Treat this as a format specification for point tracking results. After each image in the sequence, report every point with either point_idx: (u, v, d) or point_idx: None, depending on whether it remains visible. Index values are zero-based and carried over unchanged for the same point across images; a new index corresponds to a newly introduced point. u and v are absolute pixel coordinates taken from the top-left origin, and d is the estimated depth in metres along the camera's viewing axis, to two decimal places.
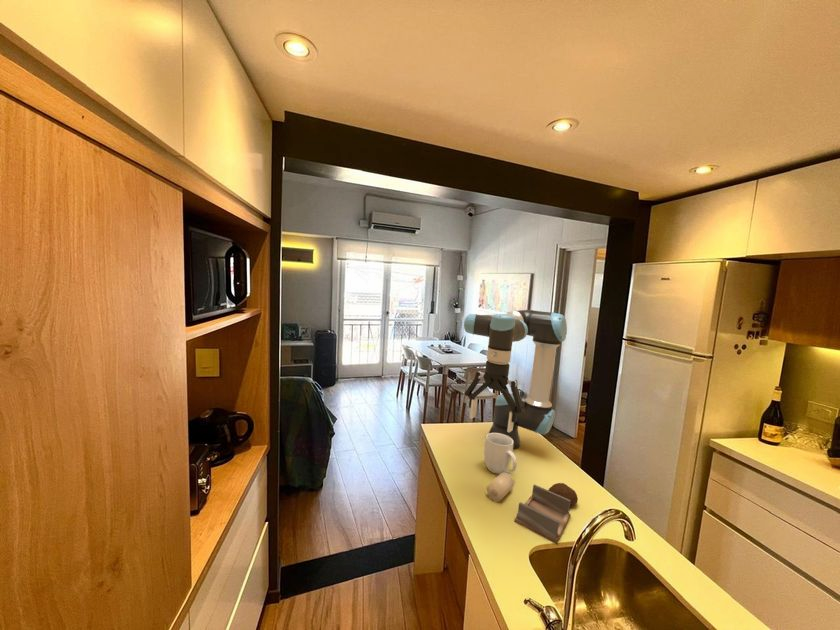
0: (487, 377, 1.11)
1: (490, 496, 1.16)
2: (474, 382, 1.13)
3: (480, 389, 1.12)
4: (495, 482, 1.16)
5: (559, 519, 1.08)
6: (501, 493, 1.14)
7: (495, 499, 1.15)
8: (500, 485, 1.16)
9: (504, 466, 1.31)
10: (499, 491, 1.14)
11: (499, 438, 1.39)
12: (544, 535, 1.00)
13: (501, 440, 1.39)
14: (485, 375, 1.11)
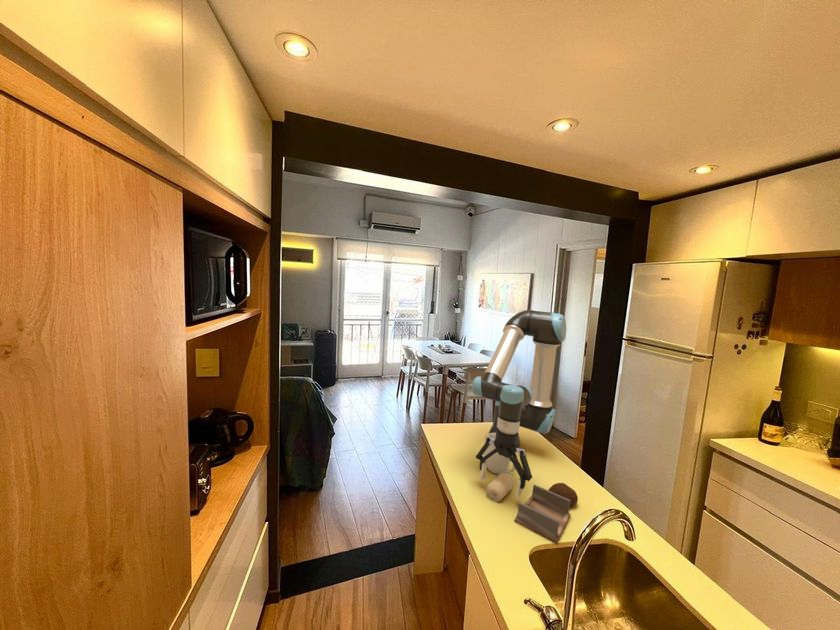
0: (497, 444, 1.18)
1: (490, 496, 1.16)
2: (485, 447, 1.21)
3: (490, 454, 1.20)
4: (494, 482, 1.17)
5: (559, 519, 1.08)
6: (500, 493, 1.14)
7: (495, 499, 1.15)
8: (499, 484, 1.16)
9: (504, 466, 1.31)
10: (499, 491, 1.14)
11: None
12: (544, 535, 1.00)
13: None
14: (495, 442, 1.19)
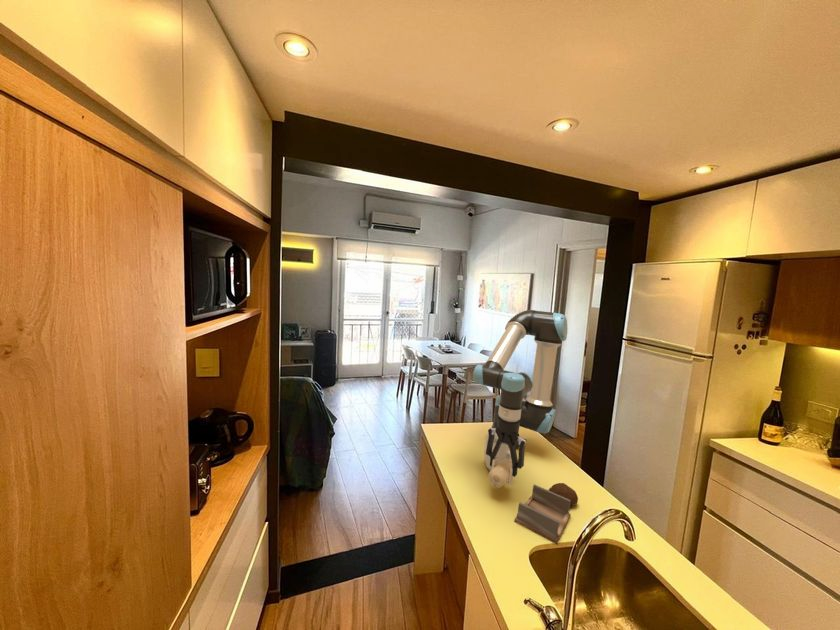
0: (499, 431, 1.18)
1: (493, 482, 1.16)
2: (490, 439, 1.21)
3: (497, 446, 1.19)
4: (496, 468, 1.17)
5: (559, 519, 1.08)
6: (503, 478, 1.14)
7: (498, 485, 1.15)
8: (501, 470, 1.16)
9: None
10: (501, 476, 1.14)
11: None
12: (544, 535, 1.00)
13: None
14: (496, 430, 1.19)
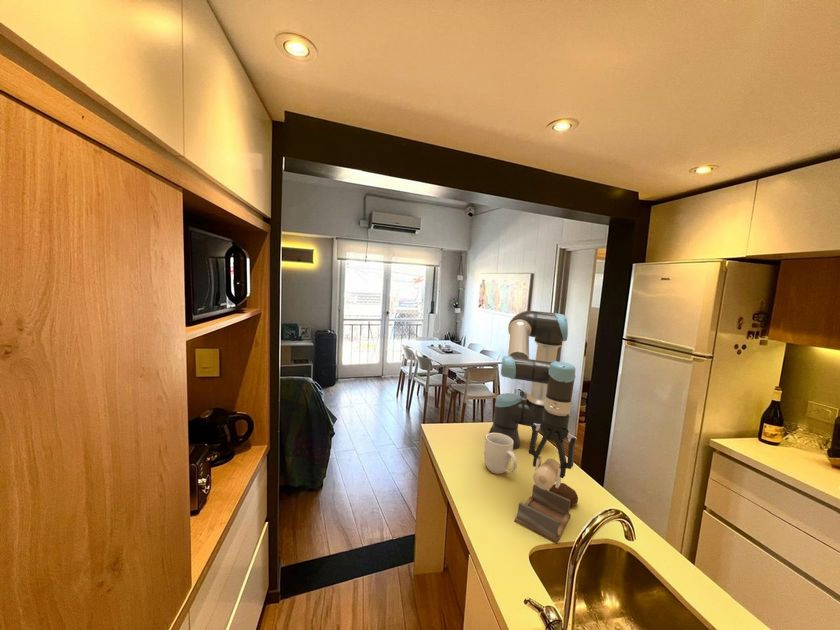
0: (544, 426, 1.06)
1: (538, 484, 1.04)
2: (533, 436, 1.08)
3: (542, 444, 1.07)
4: (542, 468, 1.04)
5: (559, 519, 1.08)
6: (551, 479, 1.01)
7: (544, 487, 1.03)
8: (548, 470, 1.03)
9: (504, 466, 1.31)
10: (548, 477, 1.02)
11: (499, 438, 1.39)
12: (544, 535, 1.00)
13: (501, 440, 1.39)
14: (542, 425, 1.07)
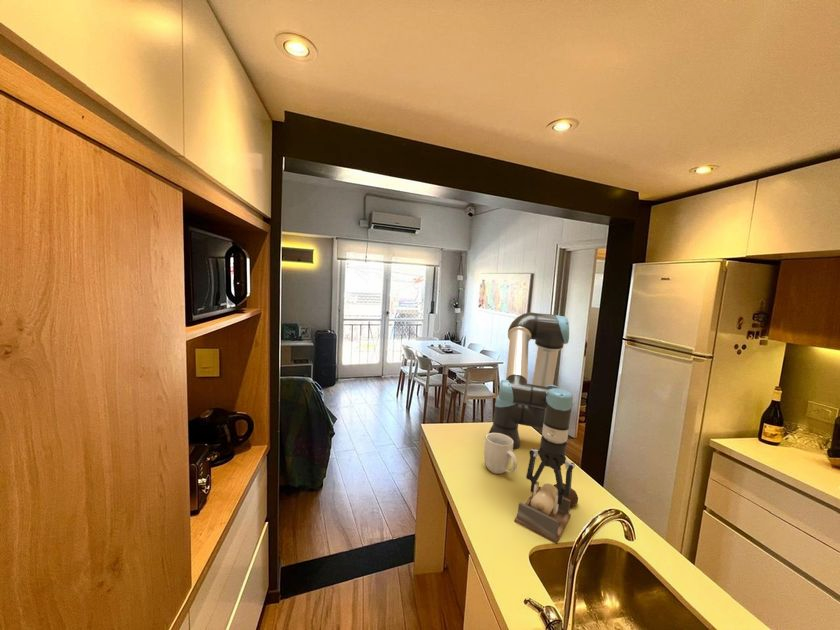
0: (542, 453, 1.07)
1: None
2: (531, 462, 1.09)
3: (539, 470, 1.08)
4: (540, 494, 1.05)
5: (559, 519, 1.08)
6: (548, 506, 1.02)
7: None
8: (546, 497, 1.04)
9: (504, 466, 1.31)
10: (546, 504, 1.03)
11: (499, 438, 1.39)
12: (544, 535, 1.00)
13: (501, 440, 1.39)
14: (539, 451, 1.08)
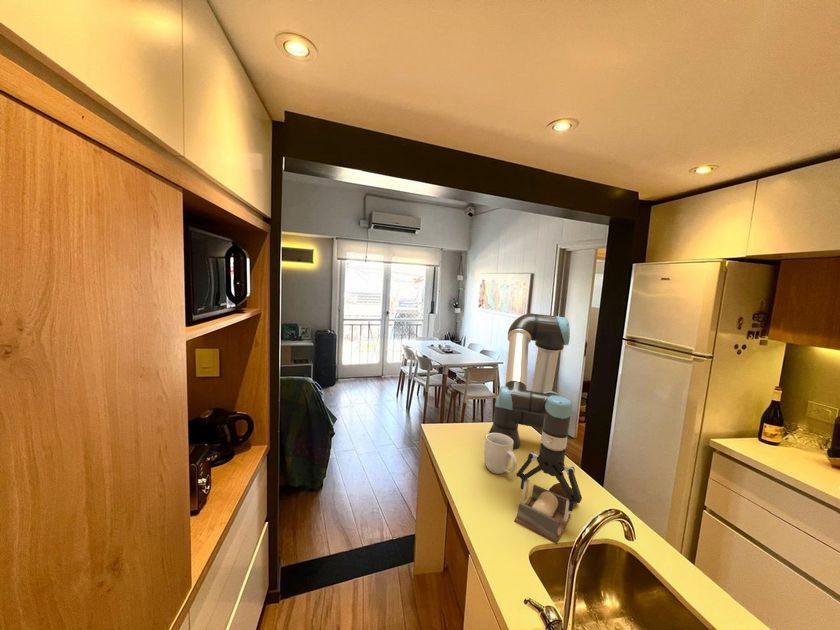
0: (541, 461, 1.07)
1: None
2: (527, 464, 1.10)
3: (533, 472, 1.09)
4: (539, 503, 1.05)
5: (559, 519, 1.08)
6: None
7: None
8: (544, 506, 1.04)
9: (504, 466, 1.31)
10: (545, 513, 1.03)
11: (499, 438, 1.39)
12: (544, 535, 1.00)
13: (501, 440, 1.39)
14: (539, 458, 1.08)
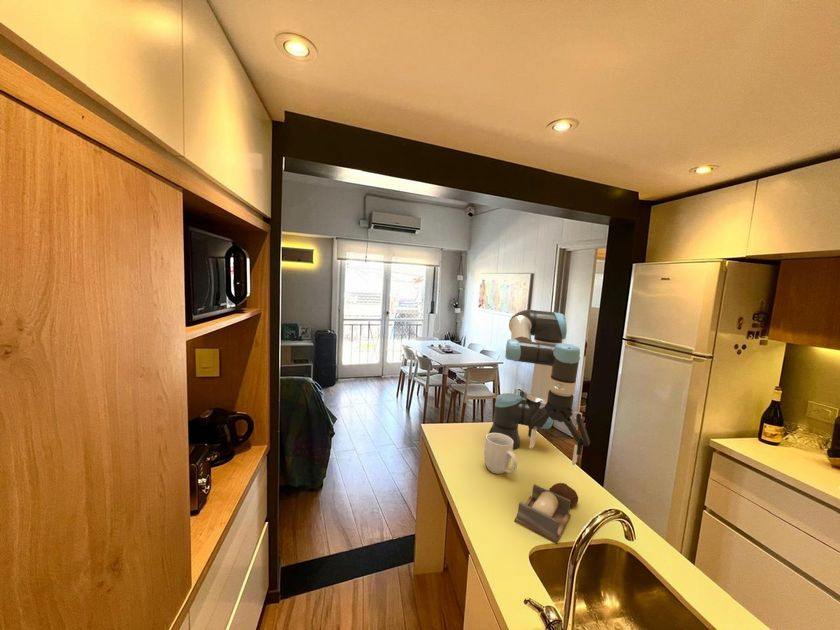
0: (549, 408, 1.09)
1: None
2: (534, 412, 1.12)
3: (541, 419, 1.10)
4: (539, 503, 1.05)
5: (559, 519, 1.08)
6: None
7: None
8: (544, 506, 1.04)
9: (504, 466, 1.31)
10: (545, 513, 1.03)
11: (499, 438, 1.39)
12: (544, 535, 1.00)
13: (501, 440, 1.39)
14: (547, 405, 1.09)
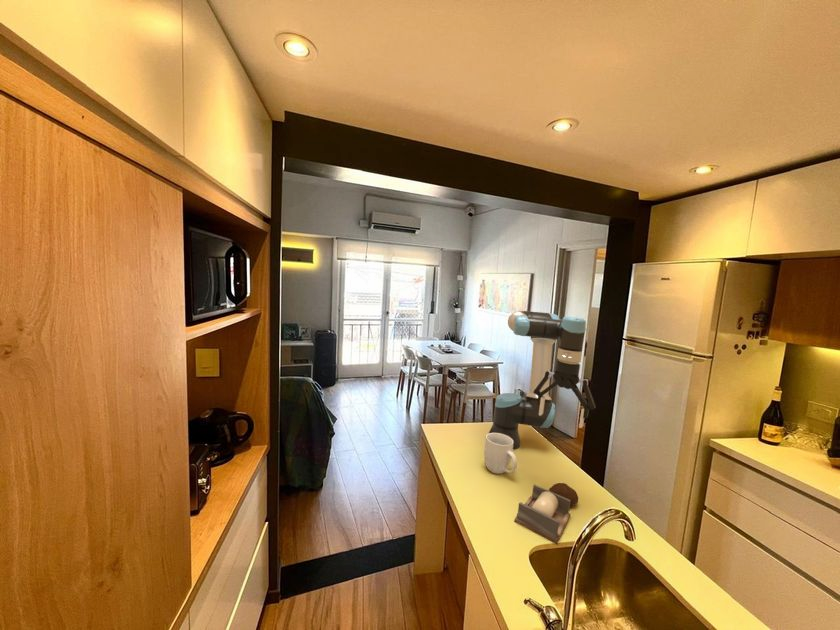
0: (557, 376, 1.17)
1: None
2: (543, 381, 1.20)
3: (550, 387, 1.19)
4: (539, 503, 1.05)
5: (559, 519, 1.08)
6: None
7: None
8: (544, 506, 1.04)
9: (504, 466, 1.31)
10: (545, 513, 1.03)
11: (499, 438, 1.39)
12: (544, 535, 1.00)
13: (501, 440, 1.39)
14: (555, 374, 1.18)
